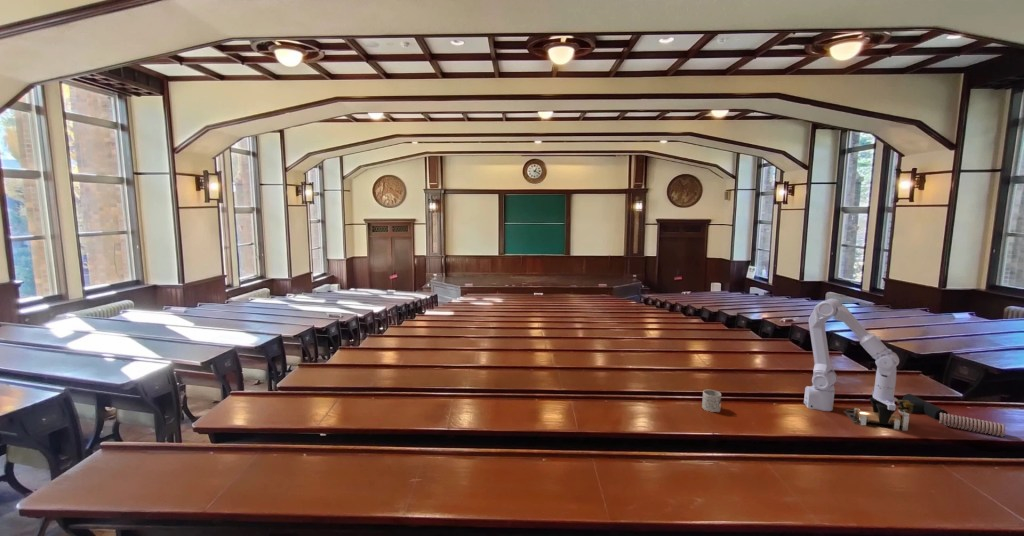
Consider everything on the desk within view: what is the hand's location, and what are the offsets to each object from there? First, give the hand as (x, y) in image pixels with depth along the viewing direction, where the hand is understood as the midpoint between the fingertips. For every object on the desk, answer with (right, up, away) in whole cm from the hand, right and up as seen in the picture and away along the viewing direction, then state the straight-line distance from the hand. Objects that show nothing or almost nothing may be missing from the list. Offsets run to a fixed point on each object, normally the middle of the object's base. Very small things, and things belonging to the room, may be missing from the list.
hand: (880, 421), depth 171 cm
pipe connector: (+23, -1, +12) cm, 26 cm away
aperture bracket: (+5, -1, -3) cm, 6 cm away
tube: (0, -1, 0) cm, 1 cm away
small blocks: (-1, -2, +1) cm, 2 cm away
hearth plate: (0, -2, +3) cm, 3 cm away
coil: (+31, -3, -2) cm, 31 cm away
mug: (-56, 0, +16) cm, 58 cm away
